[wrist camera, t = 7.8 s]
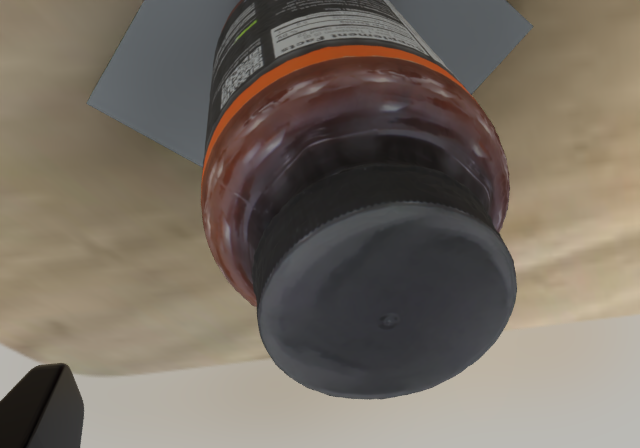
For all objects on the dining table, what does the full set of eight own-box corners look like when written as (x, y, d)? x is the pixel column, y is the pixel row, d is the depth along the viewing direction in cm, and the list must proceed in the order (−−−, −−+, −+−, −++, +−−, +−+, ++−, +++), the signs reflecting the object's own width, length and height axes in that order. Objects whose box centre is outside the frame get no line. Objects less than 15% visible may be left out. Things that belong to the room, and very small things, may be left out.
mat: (267, -219, 14) (268, -221, 14) (520, 17, 19) (533, 26, 18) (92, 90, 18) (86, 103, 18) (333, 226, 23) (337, 241, 22)
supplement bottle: (372, 163, 20) (483, 453, 11) (201, 130, 19) (162, 434, 9) (434, -12, 17) (666, 192, 8) (233, -66, 15) (224, 102, 6)
